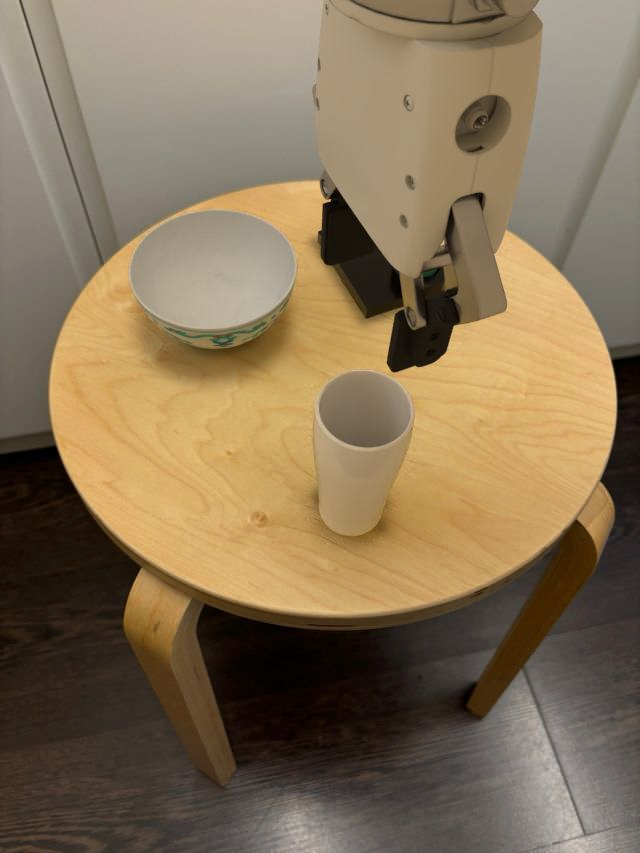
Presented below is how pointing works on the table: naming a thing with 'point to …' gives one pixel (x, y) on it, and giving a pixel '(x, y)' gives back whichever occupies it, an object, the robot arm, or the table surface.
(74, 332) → the table surface
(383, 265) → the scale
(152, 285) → the chinaware
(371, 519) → the white tall cup
